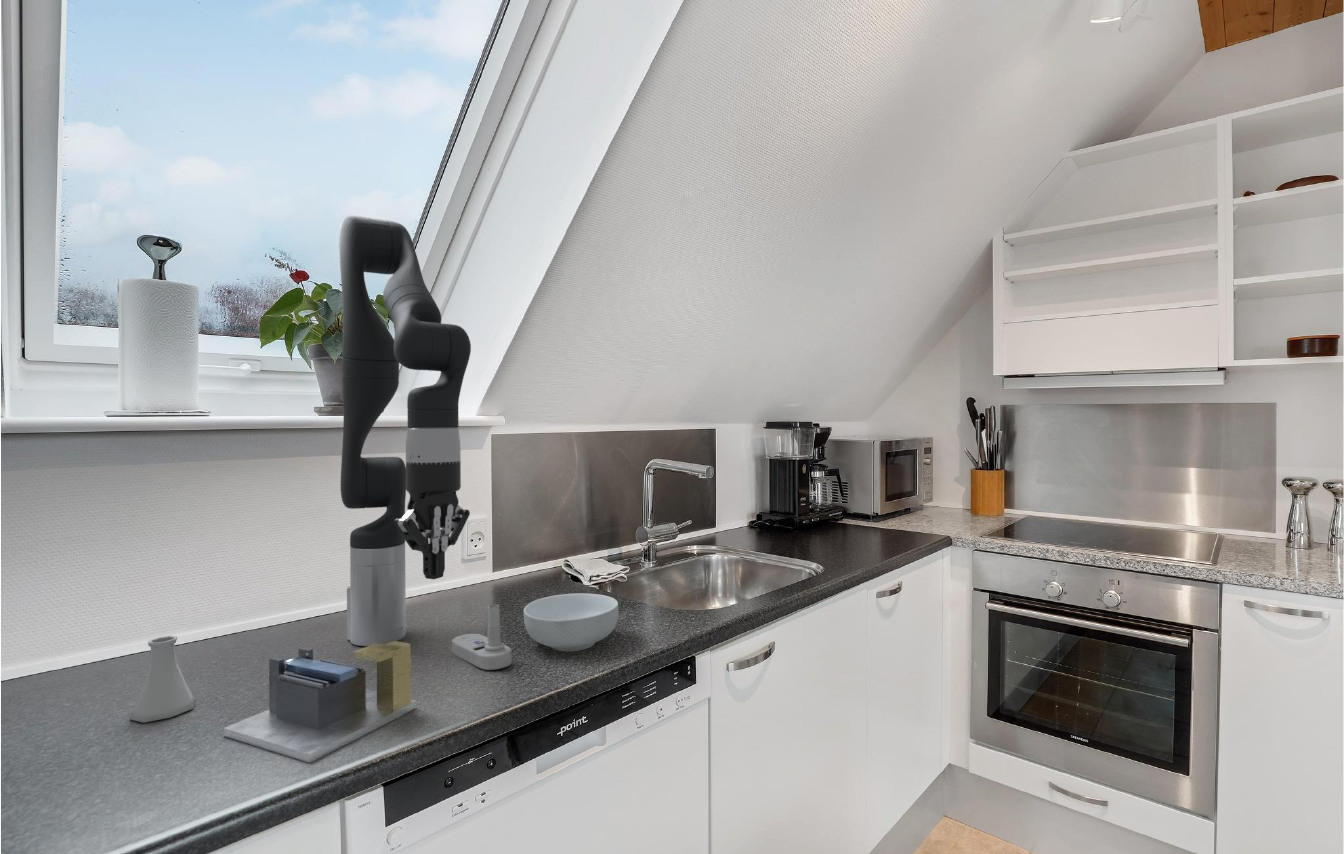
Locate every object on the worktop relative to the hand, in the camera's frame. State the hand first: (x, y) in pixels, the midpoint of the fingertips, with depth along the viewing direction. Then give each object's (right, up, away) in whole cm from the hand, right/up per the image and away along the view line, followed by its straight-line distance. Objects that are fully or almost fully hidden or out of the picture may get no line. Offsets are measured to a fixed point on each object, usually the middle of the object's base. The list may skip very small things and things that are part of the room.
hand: (434, 577), depth 95 cm
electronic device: (+3, -17, +14) cm, 23 cm away
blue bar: (-12, -11, -8) cm, 19 cm away
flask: (-35, -17, -6) cm, 39 cm away
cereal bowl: (+17, -17, +21) cm, 32 cm away
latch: (-4, -16, -7) cm, 18 cm away
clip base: (-11, -17, -9) cm, 22 cm away
